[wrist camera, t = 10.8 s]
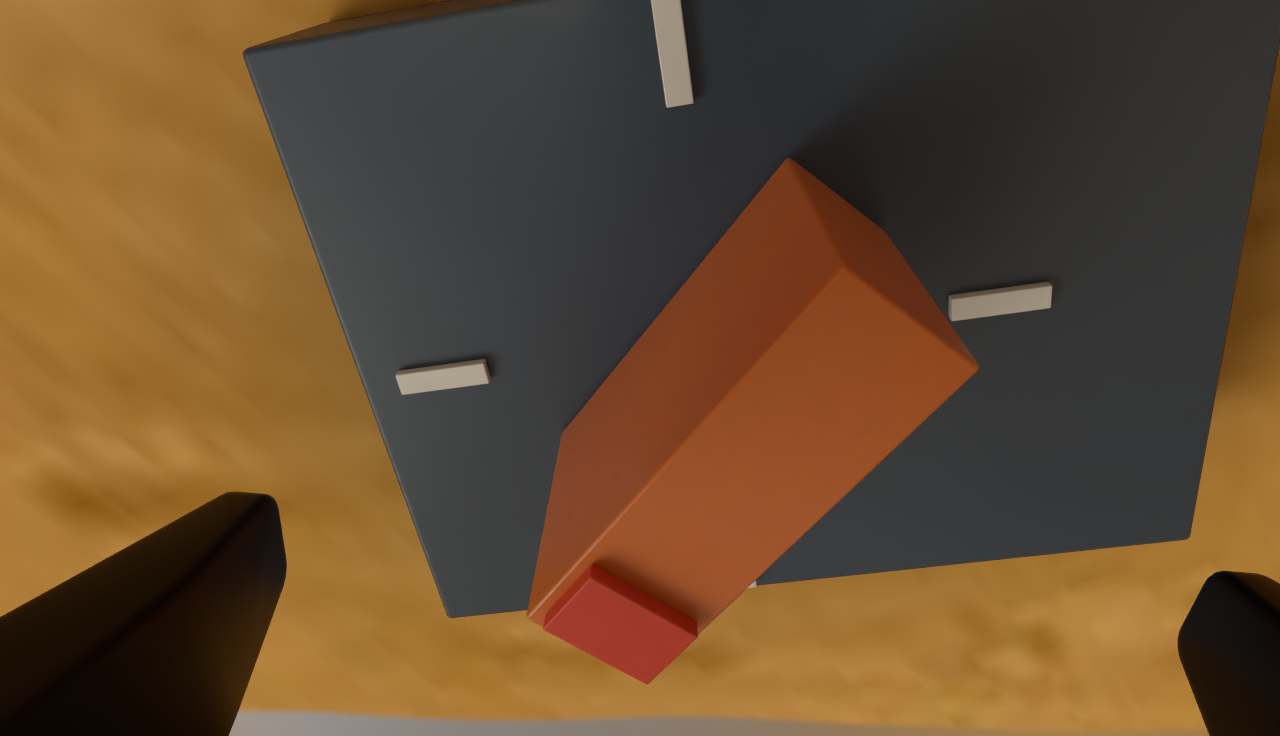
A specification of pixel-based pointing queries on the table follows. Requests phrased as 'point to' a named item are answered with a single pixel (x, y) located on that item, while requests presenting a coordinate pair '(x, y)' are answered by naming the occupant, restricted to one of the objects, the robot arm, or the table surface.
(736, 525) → the orange block
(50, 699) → the robot arm
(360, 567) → the table surface
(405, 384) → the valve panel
